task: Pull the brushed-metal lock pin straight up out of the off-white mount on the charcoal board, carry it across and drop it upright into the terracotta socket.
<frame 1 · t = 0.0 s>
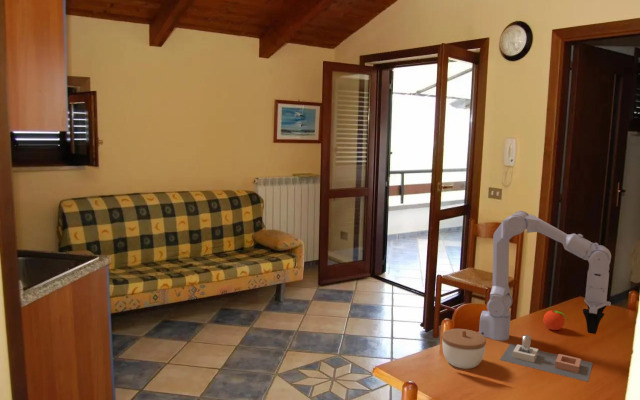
hand: (593, 329, 157), 10 cm above the table, tool pointing down, fingers open, 7 cm apart
socket: (567, 366, 152), resting on board
pin mount: (525, 353, 158), on the board, point 1 cm above the table
lidded bowl: (462, 365, 154), on the table
lock pin: (526, 346, 157), in the pin mount, point 4 cm above the table, touching board
clementine: (554, 330, 182), on the table
board: (545, 364, 155), on the table
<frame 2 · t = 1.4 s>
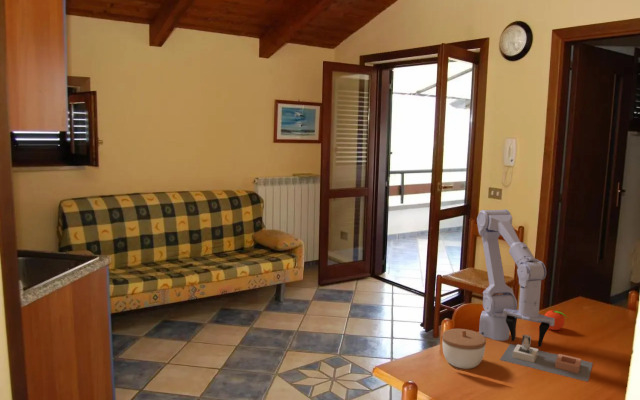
hand: (526, 342, 157), 5 cm above the table, tool pointing down, fingers open, 7 cm apart
nothing on the table moved.
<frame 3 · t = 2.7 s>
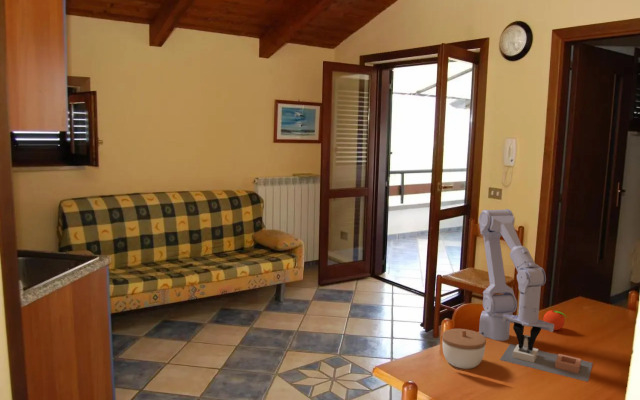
hand: (525, 348, 158), 4 cm above the table, tool pointing down, fingers closed on lock pin, 2 cm apart
lock pin: (526, 346, 157), in the pin mount, point 4 cm above the table, touching board, gripper
everything else where it was.
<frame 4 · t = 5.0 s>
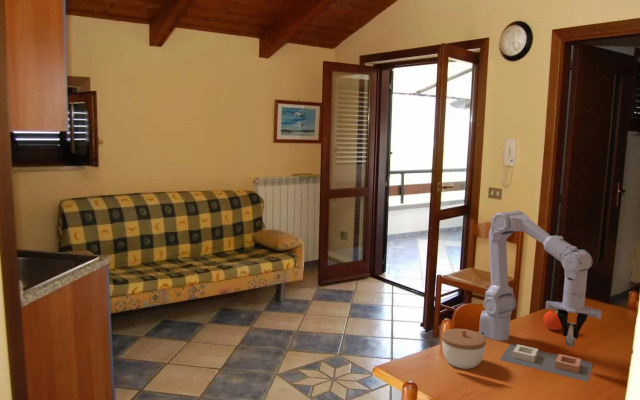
hand: (570, 336, 150), 10 cm above the table, tool pointing down, fingers closed on lock pin, 2 cm apart
lock pin: (570, 334, 150), point 11 cm above the table, touching gripper
everything else where it was.
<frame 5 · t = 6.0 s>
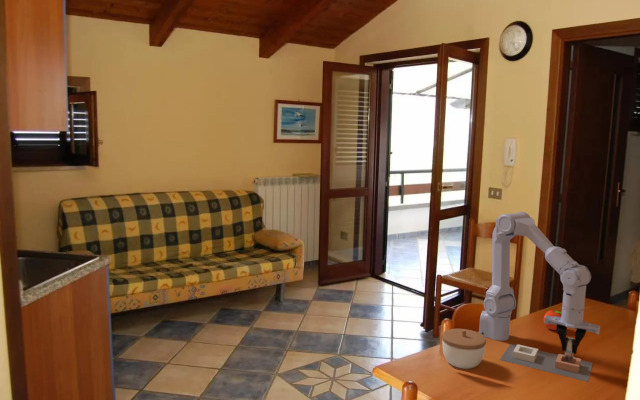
hand: (569, 351, 151), 6 cm above the table, tool pointing down, fingers closed on lock pin, 2 cm apart
lock pin: (569, 349, 151), point 6 cm above the table, touching gripper
everything else where it was.
when the fingers open (4 cm above the table, at t = 7.1 s): lock pin stays where it is, resting on board.
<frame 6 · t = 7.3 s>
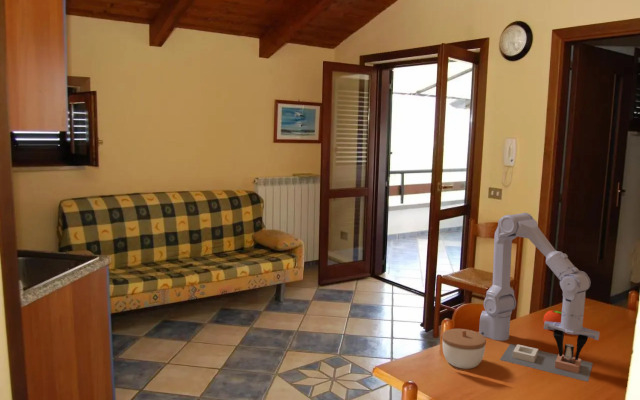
hand: (568, 356, 151), 4 cm above the table, tool pointing down, fingers open, 4 cm apart
lock pin: (568, 356, 151), in the socket, point 4 cm above the table, touching board
everything else where it was.
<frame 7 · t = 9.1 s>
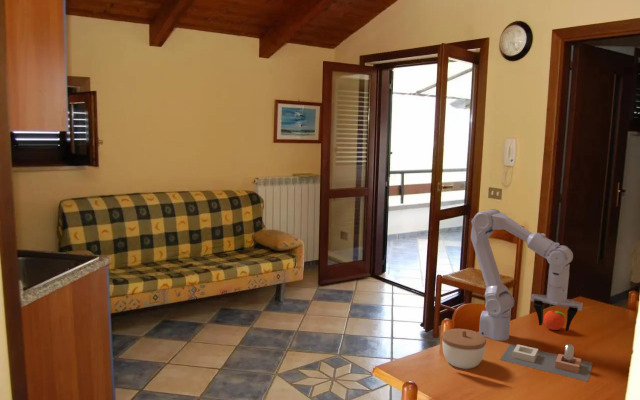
hand: (553, 327, 160), 9 cm above the table, tool pointing down, fingers open, 7 cm apart
nothing on the table moved.
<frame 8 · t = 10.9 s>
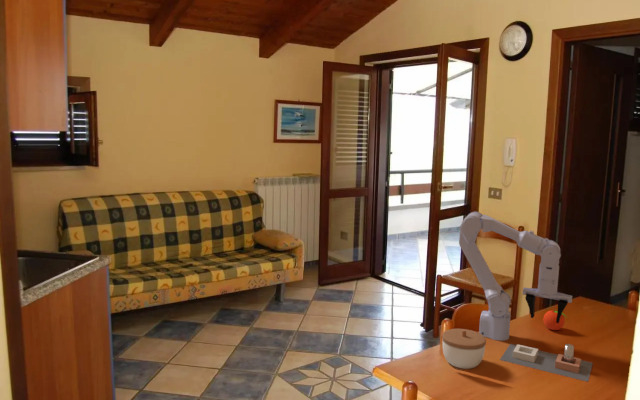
hand: (545, 319, 166), 9 cm above the table, tool pointing down, fingers open, 7 cm apart
nothing on the table moved.
at the end: lock pin 0.1 cm off-centre on the socket, point 3.3 cm above the socket's base; lock pin tilted 1°; the gripper is holding nothing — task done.
